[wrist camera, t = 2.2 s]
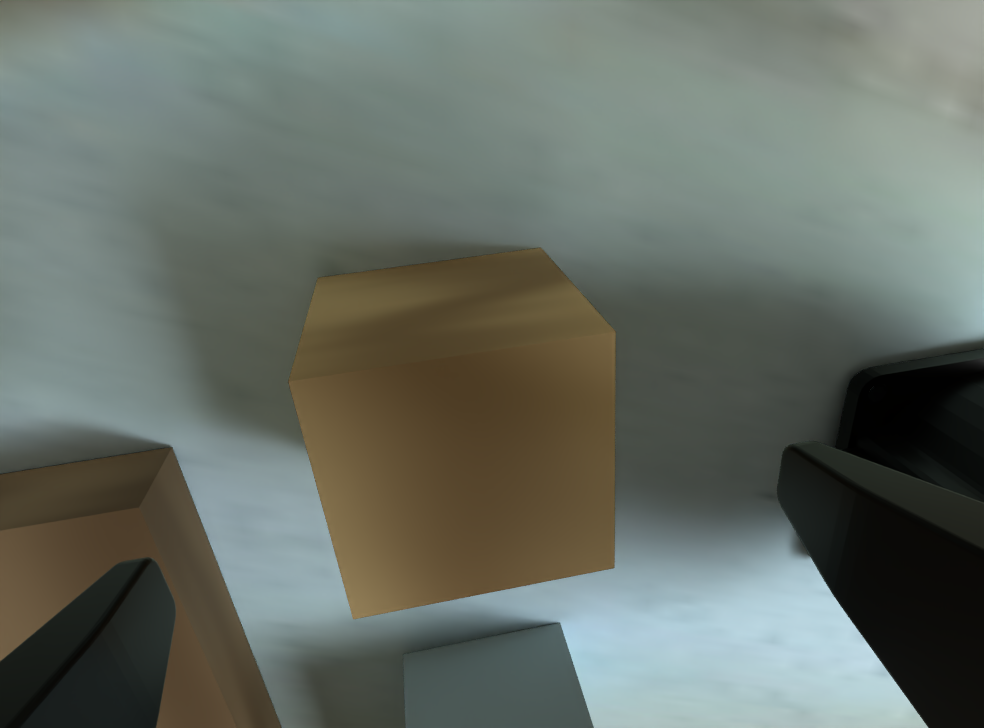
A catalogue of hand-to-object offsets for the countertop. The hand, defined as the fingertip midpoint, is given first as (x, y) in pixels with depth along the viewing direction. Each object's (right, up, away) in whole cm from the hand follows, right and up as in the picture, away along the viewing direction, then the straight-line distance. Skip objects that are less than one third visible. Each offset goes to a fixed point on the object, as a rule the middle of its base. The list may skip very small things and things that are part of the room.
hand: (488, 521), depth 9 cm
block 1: (-1, +2, +5) cm, 5 cm away
